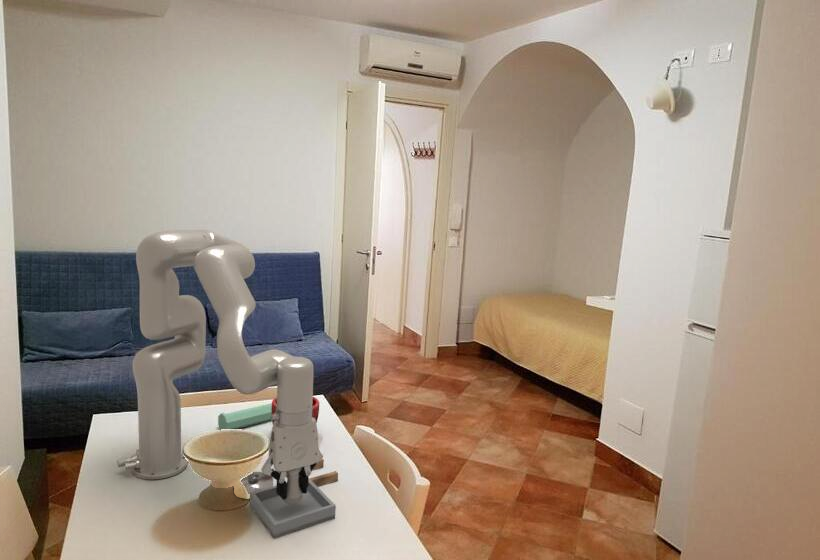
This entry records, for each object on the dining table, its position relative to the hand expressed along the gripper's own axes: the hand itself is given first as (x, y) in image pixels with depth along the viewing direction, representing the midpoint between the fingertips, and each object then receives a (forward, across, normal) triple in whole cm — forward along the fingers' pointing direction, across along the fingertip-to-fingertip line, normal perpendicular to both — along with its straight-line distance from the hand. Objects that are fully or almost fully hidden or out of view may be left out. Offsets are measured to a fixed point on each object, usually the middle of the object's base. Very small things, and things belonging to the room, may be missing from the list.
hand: (292, 492), depth 121 cm
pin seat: (+5, +10, +11) cm, 16 cm away
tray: (+5, 0, 0) cm, 5 cm away
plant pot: (+5, +15, +32) cm, 36 cm away
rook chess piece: (+2, 0, 0) cm, 2 cm away
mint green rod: (+5, +12, +49) cm, 50 cm away
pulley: (+4, -4, +13) cm, 14 cm away
